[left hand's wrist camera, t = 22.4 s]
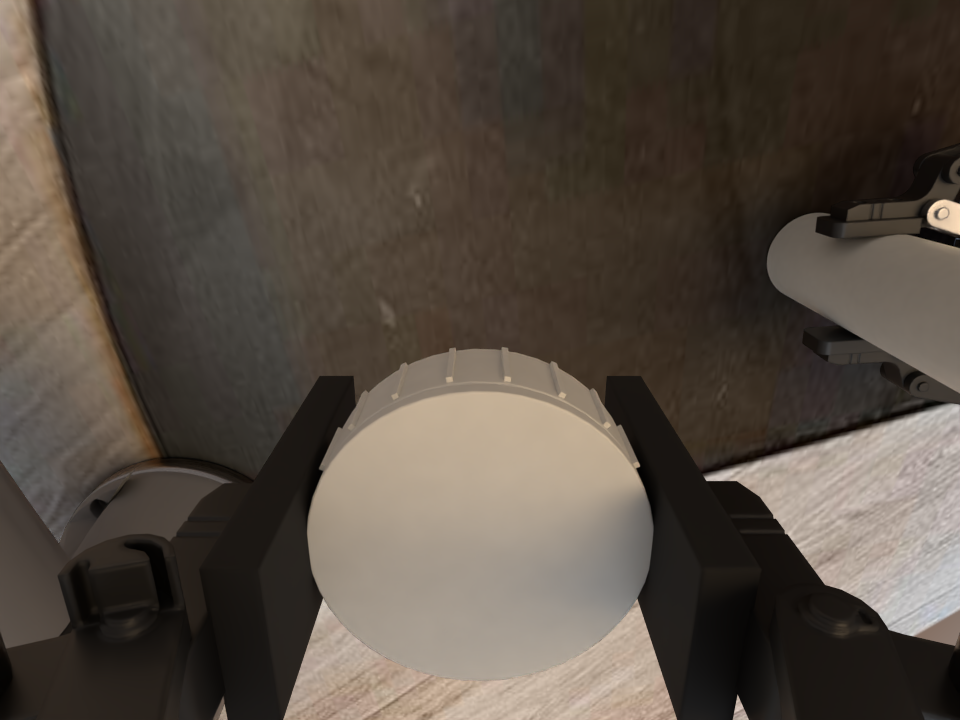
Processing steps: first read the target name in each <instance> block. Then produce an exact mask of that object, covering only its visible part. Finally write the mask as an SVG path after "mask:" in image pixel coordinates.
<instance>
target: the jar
mask: <svg viewBox="0 0 960 720" xmlns="http://www.w3.org/2000/svg"><path fill="white" fill-rule="evenodd" d="M829 215H830V214H827V213H811V214H806V215H803V216H801V217H798V218H796V219H794V220H793V221H791V222H790V223H788V224H787V225H786V226H785V227H783V228H782V230H781V231H780V232H779V233H778V234H777V235H776V237H775V238H774V240H773V242H772V244H771V246H770V249H769V252H768V257H767V270H768V275H769V277H770V280H771V282H772V283H773V285H774V286H775V287H776V288H777V289H778V290H779V291H780V292H781V293H783V294H785V295H786V296H788V297H790V298H792V299H793V300H795V301H797V302H799V303H801V304H802V305H804V306H806V307H808V308H809V309H811V310H813V311H815V312H816V313H818V314H820V315H822V316H824V317H825V318H827V319H829V320H831V321H832V322H834V323H836V324H838V325H840V326H841V327H843V328H845V329H847V330H848V331H850V332H852V333H854V334H855V335H857V336H859V337H861V338H863V339H864V340H866V341H868V342H870V343H871V344H873V345H875V346H877V347H879V348H880V349H882V350H884V351H886V352H887V353H889V354H891V355H893V356H894V357H896V358H898V359H900V360H902V361H903V362H905V363H907V364H909V365H910V366H912V367H914V368H916V369H918V370H919V371H921V372H923V373H925V374H926V375H928V376H930V377H932V378H933V379H935V380H937V381H939V382H941V383H942V384H944V385H946V386H948V387H949V388H951V389H953V390H955V391H957V392H958V393H960V248H957V247H953V246H949V245H945V244H941V243H938V242H934V241H930V240H926V239H922V238H919V237H915V236H911V235H907V234H904V235H889V236H874V237H858V238H831V237H828V236H825V235H822V234H819V233H816V232H815V229H816V221H817V217H819V216H829Z"/></svg>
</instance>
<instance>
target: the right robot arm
mask: <svg viewBox="0 0 960 720" xmlns="http://www.w3.org/2000/svg"><path fill="white" fill-rule="evenodd" d="M913 173H914V175H915V177H916V178H915V179H914V181H913V183H912V185H911V187H910V188H909V190H908V191H907V192H905V193H904V194H903V195H901V196H898V197H893V198H879V199H865V200H849V201H842V202H839V203H837V204H835V205H833V206H831V213H830V215H829V216H819V217H817V221H816V229H815V232H816V233H819V234H822V235H825V236H828V237H831V238H858V237H874V236H889V235H904V234H919V233H920V229H921V228H922V227H927V228H930V229H931V230H934V231H937V232H940V233H943V234H947V235H950V236H953V237H956V238H959V239H958V240H956V242H955V247H957V248H960V204H959V203H956V202H953V201H954V199H955V197H956V195H957V194H958V192H959V190H960V143H959V144H955V145H952V146H949V147H946V148H942V149H939V150H936V151H933V152H929V153H926V154H923V155H922V156H920V157H919V158H918V159H917V160H916V162H915V164H914V167H913ZM802 343H803V344H804V345H805V346H807V347H808V348H810V349H811V350H813V352H814V353H816V354H817V355H818V356H820V357H821V358H823V359H824V360H826V361H827V362H830V363H833V364H836V365H847V364H857V363H859V364H862V363H878V362H883V364H882V366H881V368H880V373H881V375H882V376H883V377H884V378H885V379H887V380H889V381H890V382H892V383H893V384H895V385H897V386H898V387H900V388H901V389H903V390H905V391H906V392H908V393H909V394H911V395H912V396H914V397H917V398H923V399H929V400H935V401H941V402H947V403H954V404H960V393H958V392H957V391H955V390H953V389H951V388H949V387H948V386H946V385H944V384H942V383H941V382H939V381H937V380H935V379H933V378H932V377H930V376H928V375H926V374H925V373H923V372H921V371H919V370H918V369H916V368H914V367H912V366H910V365H909V364H907V363H905V362H903V361H902V360H900V359H898V358H896V357H894V356H893V355H891V354H889V353H887V352H886V351H884V350H882V349H880V348H879V347H877V346H875V345H873V344H871V343H870V342H868V341H866V340H864V339H863V338H861V337H859V336H857V335H855V334H854V333H852V332H850V331H848V330H847V329H845V328H843V327H841V326H826V327H811V328H805V329H804V333H803V342H802Z"/></svg>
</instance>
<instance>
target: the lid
mask: <svg viewBox="0 0 960 720" xmlns="http://www.w3.org/2000/svg"><path fill="white" fill-rule="evenodd" d="M638 467H640V465H639V462H638V460H637V458H636V456H635V454H634V452H633V449H632V447H631V445H630V443H629V441H628V439H627V436H626V434H625V432H624V430H623V428H622V426H621V425H619V426H616V424H615V422H614V420H613V418H612V417H611V415H610V414H609V413H608V411H607V410H606V408H605V407H604V406H603V404H602V403H601V401H600V399H599V396H598V394H597V392H596V391H595V390H594V389H593V388H592V389H591V390H589V389H588V388H586V387H585V386H584V385H583V384H581V383H580V382H579V381H577V380H576V379H575V378H574V377H572V376H571V375H569V374H567V373H565V372H564V371H562V370H560V369H559V368H558V366H557V363H555V362H553V361H551V363H550V364H548V363H546V362H544V361H541V360H539V359H537V358H533V357H529V356H526V355H522V354H519V353H514V352H508V348H504V347H502V349H501V350H491V349H470V350H459V351H456V348H450V349H449V352H447V353H442V354H438V355H433V356H430V357H428V358H425V359H422V360H419V361H417V362H414V363H412V364H410V365H407V363H404V364H402V365H401V366H400V369H399V370H398V371H396V372H394V373H393V374H392V375H390V376H389V377H387V378H386V379H384V380H383V381H381V382H380V383H379V384H378V385H377V386H375V387H374V388H373V389H372V390H371V391H370V392H369V393H368V392H367V391H366V390H365V391H364V392H363V393H362V395H361V397H360V399H359V402H358V404H357V406H356V408H355V409H354V410H353V411H352V413H351V415H350V416H349V418H348V420H347V421H346V423H345V425H344V426H343V429H342V428H339V427H338V429H337V431H336V433H335V435H334V437H333V440H332V442H331V444H330V446H329V448H328V450H327V453H326V455H325V457H324V459H323V461H322V463H321V466H320V468H319V469H320V470H322V471H323V473H322V476H321V478H320V480H319V483H318V485H317V487H316V490H315V492H314V495H313V497H312V501H311V505H310V509H309V513H308V520H307V537H308V546H309V555H310V563H311V570H312V574H313V576H314V579H315V581H316V584H317V586H318V589H319V591H320V593H321V595H322V596H323V598H324V600H325V602H326V603H327V605H328V607H329V608H330V610H331V611H332V612H333V613H334V615H335V616H336V617H337V618H338V620H339V621H340V622H341V623H342V624H343V625H344V626H345V627H346V628H347V629H348V630H349V631H350V632H351V633H352V634H353V635H354V636H355V637H356V638H357V639H359V640H360V641H361V642H363V643H364V644H365V645H366V646H368V647H369V648H370V649H372V650H374V651H375V652H377V653H379V654H380V655H382V656H384V657H385V658H387V659H389V660H391V661H393V662H396V663H398V664H400V665H402V666H404V667H407V668H410V669H413V670H416V671H419V672H422V673H425V674H429V675H433V676H438V677H442V678H448V679H456V680H464V681H493V680H506V679H512V678H518V677H523V676H528V675H532V674H535V673H539V672H542V671H546V670H548V669H551V668H553V667H556V666H558V665H561V664H563V663H565V662H567V661H569V660H571V659H573V658H575V657H577V656H579V655H580V654H582V653H584V652H585V651H587V650H588V649H590V648H591V647H593V646H594V645H595V644H597V643H598V642H600V641H601V640H602V639H603V638H604V637H605V636H606V635H608V634H609V633H610V632H611V631H612V630H613V629H614V628H615V627H616V626H617V625H618V624H619V622H620V621H621V620H622V619H623V618H624V617H625V616H626V614H627V613H628V611H629V610H630V608H631V607H632V605H633V604H634V602H635V601H636V600H637V598H638V596H639V594H640V591H641V589H642V587H643V585H644V583H645V581H646V577H647V574H648V571H649V566H650V558H651V550H652V541H653V530H654V524H653V518H652V512H651V506H650V503H649V500H648V497H647V494H646V491H645V488H644V485H643V483H642V481H641V479H640V477H639V474H638V472H637V470H636V468H638Z"/></svg>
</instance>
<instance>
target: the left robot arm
mask: <svg viewBox="0 0 960 720" xmlns="http://www.w3.org/2000/svg"><path fill="white" fill-rule="evenodd" d="M355 408H356V403H355V390H354V377H353V376H320V377H319V378H318V380H317V381H316V383H315V385H314V386H313V388H312V389H311V391H310V393H309V394H308V396H307V397H306V399H305V401H304V402H303V404H302V405H301V407H300V409H299V410H298V412H297V413H296V415H295V417H294V418H293V420H292V421H291V423H290V425H289V426H288V428H287V429H286V431H285V432H284V434H283V436H282V437H281V439H280V440H279V442H278V444H277V445H276V447H275V448H274V450H273V452H272V453H271V455H270V456H269V458H268V460H267V461H266V463H265V464H264V466H263V468H262V469H261V471H260V472H259V474H258V476H257V477H256V479H255V480H254V481H252V480H250V479H248V478H247V477H245V476H243V475H241V474H239V473H237V472H235V471H233V470H230V469H228V468H225V467H223V466H219V465H216V464H213V463H209V462H204V461H200V460H193V459H183V458H165V459H156V460H149V461H145V462H141V463H138V464H135V465H132V466H129V467H127V468H124V469H122V470H120V471H118V472H117V473H115V474H113V475H112V476H110V477H109V478H107V479H106V480H105V481H104V482H102V483H101V484H100V485H99V486H98V487H97V488H96V489H95V490H94V491H93V492H92V493H91V494H90V495H89V496H88V497H87V498H86V499H85V500H84V501H83V502H82V503H81V504H80V505H79V507H78V508H77V509H76V511H75V512H74V514H73V516H72V517H71V519H70V521H69V522H68V524H67V526H66V528H65V530H64V533H63V535H62V538H61V540H60V543H58V542H57V540H56V539H55V538H54V536H53V535H52V533H51V532H50V531H49V529H48V528H47V527H46V525H45V524H44V522H43V521H42V520H41V518H40V517H39V515H38V514H37V513H36V511H35V510H34V508H33V507H32V506H31V504H30V503H29V501H28V500H27V499H26V497H25V496H24V494H23V493H22V491H21V490H20V488H19V487H18V486H17V484H16V483H15V481H14V480H13V478H12V477H11V475H10V474H9V472H8V471H7V469H6V468H5V467H4V465H3V464H2V462H1V461H0V720H218V719H219V716H220V714H221V711H222V709H223V706H224V704H225V708H226V713H227V718H228V720H283V718H284V715H285V712H286V709H287V706H288V703H289V700H290V697H291V694H292V691H293V688H294V685H295V682H296V679H297V676H298V673H299V670H300V667H301V664H302V661H303V658H304V654H305V651H306V648H307V645H308V642H309V639H310V636H311V633H312V630H313V627H314V624H315V621H316V618H317V615H318V612H319V609H320V606H321V603H322V600H323V596H322V595H321V593H320V591H319V589H318V586H317V584H316V581H315V579H314V576H313V574H312V570H311V563H310V555H309V546H308V537H307V520H308V513H309V509H310V505H311V501H312V497H313V495H314V492H315V490H316V487H317V485H318V483H319V480H320V478H321V476H322V473H323V471H322V470H320V469H319V468H320V466H321V463H322V461H323V459H324V457H325V455H326V453H327V450H328V448H329V446H330V444H331V442H332V440H333V437H334V435H335V433H336V431H337V429H338V427H339V428H342V429H343V426H344V425H345V423H346V421H347V420H348V418H349V416H350V415H351V413H352V411H353V410H354V409H355ZM605 408H606V410H607V411H608V413H609V414H610V415H611V417H612V418H613V420H614V422H615V424H616V426H619V425H621V426H622V428H623V430H624V432H625V434H626V436H627V439H628V441H629V443H630V445H631V447H632V449H633V452H634V454H635V456H636V458H637V460H638V462H639V465H640V467H638V468H636V470H637V472H638V474H639V477H640V479H641V481H642V483H643V485H644V488H645V491H646V494H647V497H648V500H649V503H650V506H651V512H652V518H653V524H654V530H653V541H652V550H651V558H650V566H649V571H648V574H647V577H646V581H645V583H644V585H643V587H642V589H641V591H640V594H639V596H638V598H637V599H638V602H639V605H640V608H641V611H642V614H643V617H644V620H645V623H646V626H647V629H648V632H649V635H650V638H651V641H652V644H653V647H654V650H655V653H656V656H657V659H658V662H659V666H660V669H661V672H662V675H663V678H664V681H665V684H666V687H667V690H668V693H669V696H670V699H671V702H672V705H673V708H674V711H675V714H676V717H677V720H733V715H734V710H735V705H736V700H737V694H738V696H739V698H740V701H741V703H742V705H743V707H744V710H745V712H746V714H747V716H748V718H749V720H960V634H959V637H958V640H957V643H956V646H953V645H948V644H944V643H939V642H935V641H930V640H926V639H922V638H917V637H913V636H908V635H904V634H901V633H897V632H894V631H890V630H888V628H887V626H886V625H885V623H884V622H883V620H882V619H881V617H880V616H879V614H878V613H877V612H876V611H874V610H873V609H872V608H871V607H869V606H868V605H867V604H866V603H864V602H863V601H862V600H860V599H858V598H857V597H855V596H853V595H851V594H849V593H847V592H845V591H843V590H840V589H837V588H833V587H830V586H826V585H825V584H824V583H823V582H822V580H821V579H820V578H819V576H818V575H817V574H816V572H815V571H814V569H813V568H812V567H811V565H810V564H809V563H808V561H807V560H806V559H805V557H804V556H803V555H802V553H801V552H800V551H799V549H798V548H797V547H796V545H795V544H794V543H793V541H792V540H791V538H790V537H789V536H788V534H785V532H784V531H785V530H784V529H783V528H782V526H781V525H780V524H779V522H778V521H777V520H776V519H774V518H773V514H772V513H771V512H770V510H769V509H768V507H767V506H766V505H765V503H764V502H763V501H762V499H761V498H760V497H759V496H758V495H756V494H755V493H753V492H752V491H750V490H749V489H747V488H746V487H744V486H743V485H742V484H740V483H739V482H737V481H706V480H705V478H704V477H703V475H702V473H701V472H700V470H699V469H698V467H697V465H696V464H695V462H694V461H693V459H692V457H691V456H690V454H689V453H688V451H687V449H686V448H685V446H684V445H683V443H682V441H681V440H680V438H679V437H678V435H677V433H676V432H675V430H674V429H673V427H672V425H671V424H670V422H669V421H668V419H667V418H666V416H665V414H664V413H663V411H662V410H661V408H660V406H659V405H658V403H657V402H656V400H655V398H654V397H653V395H652V394H651V392H650V390H649V389H648V387H647V386H646V384H645V382H644V381H643V379H642V378H641V376H607V382H606V395H605Z"/></svg>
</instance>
